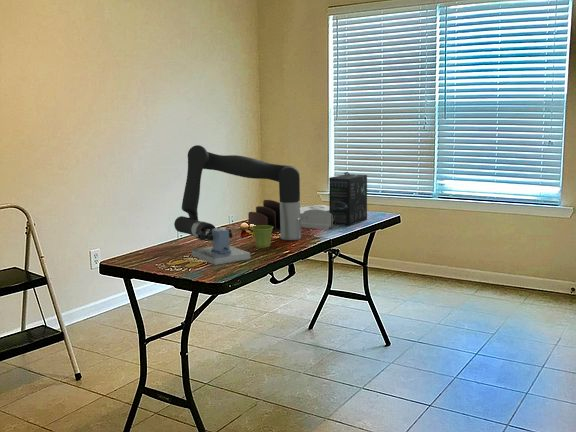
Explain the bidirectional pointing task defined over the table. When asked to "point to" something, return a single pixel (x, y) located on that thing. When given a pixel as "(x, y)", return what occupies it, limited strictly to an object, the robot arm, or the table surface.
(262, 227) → the plant pot
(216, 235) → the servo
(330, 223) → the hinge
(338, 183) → the headset box
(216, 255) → the plate
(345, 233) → the table surface
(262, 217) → the letter holder
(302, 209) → the white rounded slab
